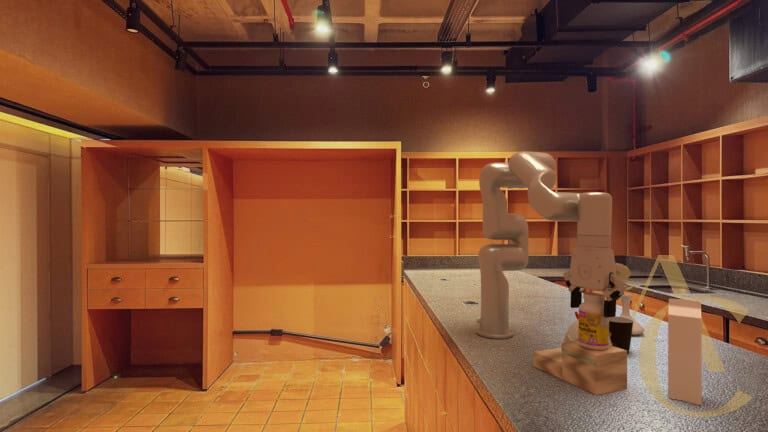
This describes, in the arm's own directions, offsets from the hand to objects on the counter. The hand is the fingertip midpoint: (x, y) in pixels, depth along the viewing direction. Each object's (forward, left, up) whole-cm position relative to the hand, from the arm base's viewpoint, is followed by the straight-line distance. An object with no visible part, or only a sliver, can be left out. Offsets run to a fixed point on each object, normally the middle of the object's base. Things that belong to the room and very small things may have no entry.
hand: (592, 311), depth 100 cm
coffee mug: (-16, +29, -18) cm, 38 cm away
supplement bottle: (0, 0, -9) cm, 9 cm away
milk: (+14, +13, -18) cm, 26 cm away
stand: (-4, 0, -17) cm, 18 cm away
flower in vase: (-30, +51, -18) cm, 62 cm away
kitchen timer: (-14, +15, -18) cm, 27 cm away
